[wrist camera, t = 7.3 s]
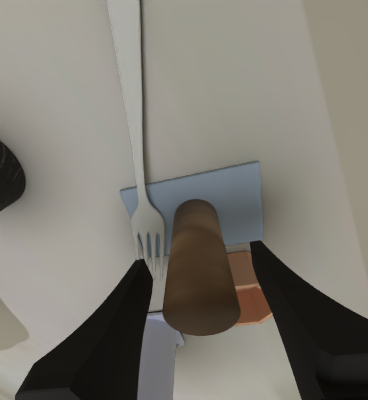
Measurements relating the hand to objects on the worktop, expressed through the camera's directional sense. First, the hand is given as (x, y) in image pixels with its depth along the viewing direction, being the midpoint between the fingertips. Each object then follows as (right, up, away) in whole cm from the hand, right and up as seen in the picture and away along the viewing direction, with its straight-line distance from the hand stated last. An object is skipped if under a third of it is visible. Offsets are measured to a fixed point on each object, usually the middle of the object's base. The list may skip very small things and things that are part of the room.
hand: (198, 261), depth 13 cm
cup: (+5, -4, +9) cm, 11 cm away
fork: (-4, +8, +3) cm, 9 cm away
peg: (0, +2, +5) cm, 6 cm away
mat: (0, +3, +5) cm, 6 cm away
